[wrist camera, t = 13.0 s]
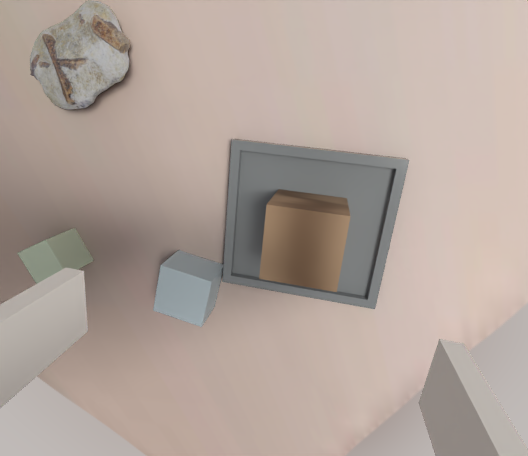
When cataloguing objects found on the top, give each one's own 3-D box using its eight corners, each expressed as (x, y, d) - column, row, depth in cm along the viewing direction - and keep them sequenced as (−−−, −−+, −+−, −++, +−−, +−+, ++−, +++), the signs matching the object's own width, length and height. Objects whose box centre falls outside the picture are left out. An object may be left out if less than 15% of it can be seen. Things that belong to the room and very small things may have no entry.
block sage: (67, 271, 38) (38, 287, 34) (48, 239, 37) (17, 252, 34) (94, 260, 37) (67, 275, 33) (75, 227, 36) (45, 239, 32)
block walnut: (271, 251, 32) (259, 278, 26) (278, 189, 30) (266, 204, 25) (335, 261, 31) (336, 292, 26) (346, 198, 29) (350, 216, 24)
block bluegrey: (171, 290, 36) (153, 310, 33) (179, 249, 35) (160, 265, 31) (215, 305, 36) (201, 326, 32) (224, 264, 34) (211, 281, 30)
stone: (74, 126, 32) (51, 125, 30) (33, 53, 31) (6, 46, 29) (149, 70, 29) (130, 63, 26) (106, -12, 28) (82, -27, 26)
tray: (225, 276, 34) (222, 281, 33) (235, 138, 30) (231, 139, 29) (373, 302, 32) (374, 309, 31) (406, 158, 28) (409, 160, 27)
